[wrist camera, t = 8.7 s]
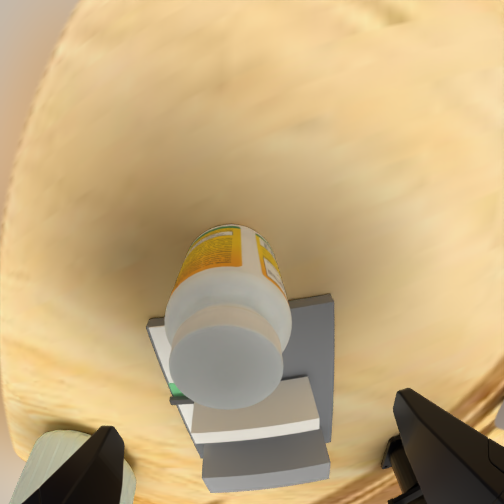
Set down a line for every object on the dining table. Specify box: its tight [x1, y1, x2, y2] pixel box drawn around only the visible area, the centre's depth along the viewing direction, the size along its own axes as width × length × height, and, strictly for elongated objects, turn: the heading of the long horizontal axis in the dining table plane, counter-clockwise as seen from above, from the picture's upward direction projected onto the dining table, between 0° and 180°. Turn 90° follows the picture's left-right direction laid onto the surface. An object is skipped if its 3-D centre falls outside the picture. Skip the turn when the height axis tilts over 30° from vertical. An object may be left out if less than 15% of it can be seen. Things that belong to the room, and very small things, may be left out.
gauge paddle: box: [169, 376, 320, 444], centre depth 20 cm, size 1×10×4 cm, turn 97°
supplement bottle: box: [164, 224, 292, 410], centre depth 15 cm, size 5×5×10 cm
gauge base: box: [146, 294, 334, 493], centre depth 21 cm, size 15×12×5 cm
